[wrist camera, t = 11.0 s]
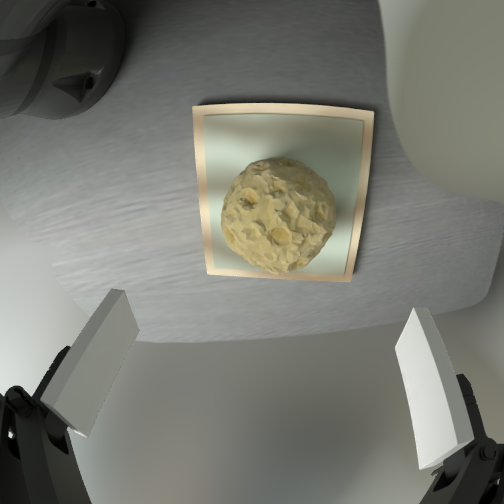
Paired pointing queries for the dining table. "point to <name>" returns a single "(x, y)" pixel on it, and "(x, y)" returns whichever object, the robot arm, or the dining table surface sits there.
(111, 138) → the dining table surface
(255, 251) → the decorative item
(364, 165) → the board
